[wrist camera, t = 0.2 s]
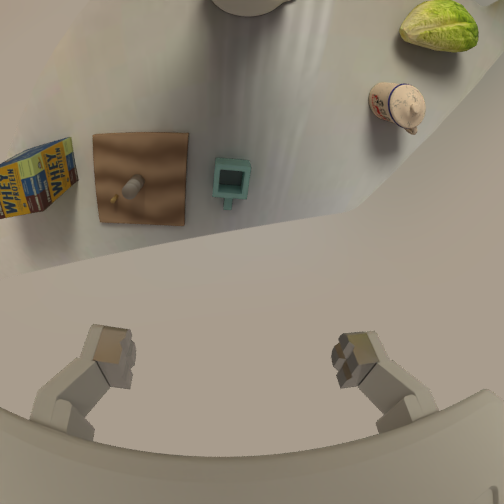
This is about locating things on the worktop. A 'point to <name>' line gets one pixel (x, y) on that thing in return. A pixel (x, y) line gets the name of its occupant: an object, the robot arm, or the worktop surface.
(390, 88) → the teacup with lid
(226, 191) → the teal open cubby box
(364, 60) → the worktop surface
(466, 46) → the lettuce
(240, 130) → the worktop surface
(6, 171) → the protein box
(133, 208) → the post board
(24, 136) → the worktop surface
